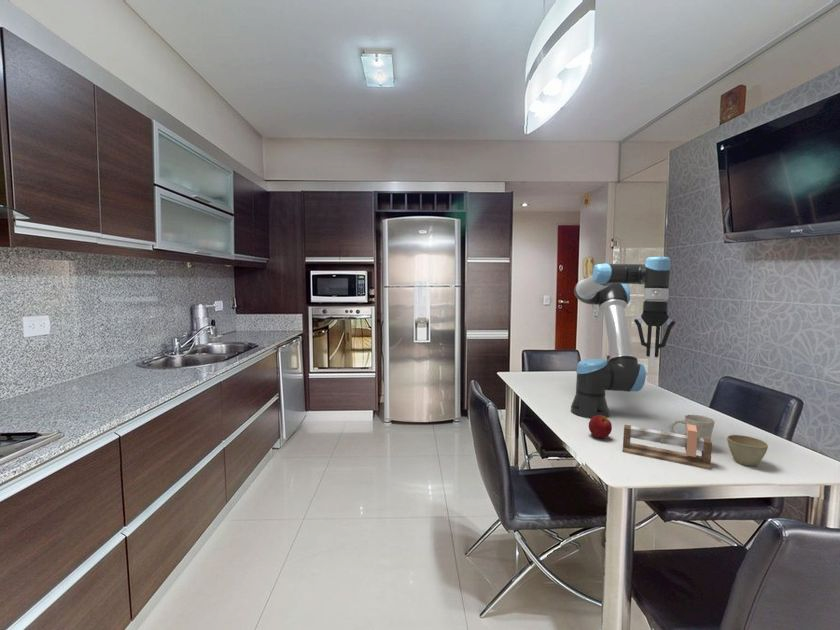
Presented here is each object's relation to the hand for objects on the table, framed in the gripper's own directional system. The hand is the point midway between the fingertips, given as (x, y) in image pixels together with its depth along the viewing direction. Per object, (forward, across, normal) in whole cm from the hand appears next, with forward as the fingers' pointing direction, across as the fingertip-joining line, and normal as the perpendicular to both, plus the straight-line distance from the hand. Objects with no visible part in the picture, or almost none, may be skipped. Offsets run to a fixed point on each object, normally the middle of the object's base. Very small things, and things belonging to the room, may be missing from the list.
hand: (651, 365), depth 144 cm
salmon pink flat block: (+24, +12, -16) cm, 31 cm away
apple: (+27, -15, -10) cm, 32 cm away
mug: (+27, +13, -1) cm, 30 cm away
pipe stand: (+26, +5, -16) cm, 31 cm away
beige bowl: (+27, +27, -8) cm, 39 cm away
